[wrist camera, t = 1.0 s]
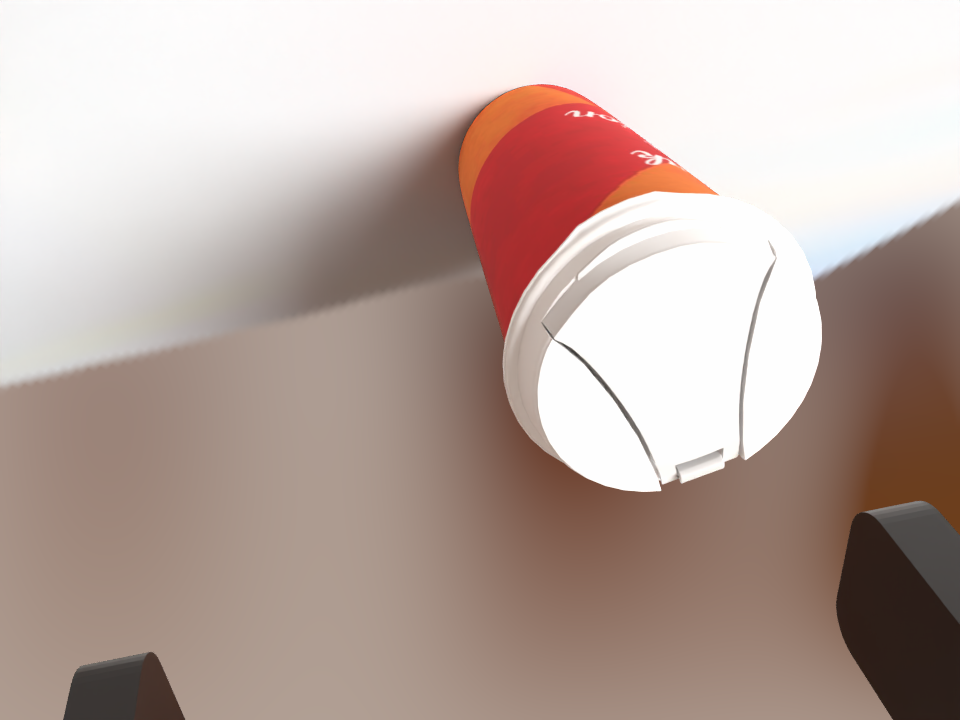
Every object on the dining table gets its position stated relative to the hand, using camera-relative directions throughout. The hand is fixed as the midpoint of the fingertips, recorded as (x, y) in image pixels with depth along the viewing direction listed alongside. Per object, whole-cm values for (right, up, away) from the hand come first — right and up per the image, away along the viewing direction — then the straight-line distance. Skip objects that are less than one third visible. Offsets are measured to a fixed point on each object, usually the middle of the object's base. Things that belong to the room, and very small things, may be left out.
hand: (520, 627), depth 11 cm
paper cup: (+1, +10, +22) cm, 24 cm away
